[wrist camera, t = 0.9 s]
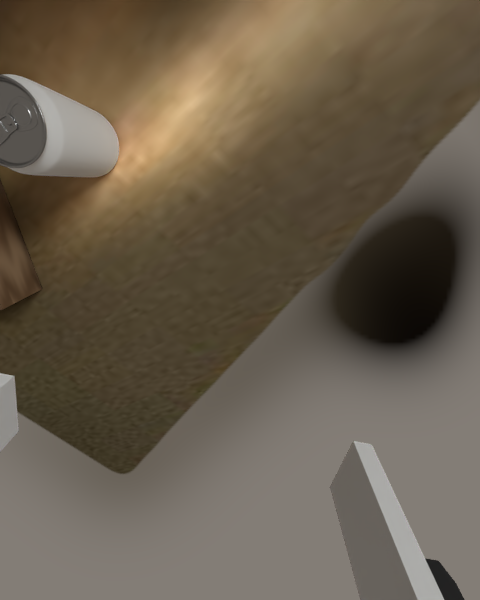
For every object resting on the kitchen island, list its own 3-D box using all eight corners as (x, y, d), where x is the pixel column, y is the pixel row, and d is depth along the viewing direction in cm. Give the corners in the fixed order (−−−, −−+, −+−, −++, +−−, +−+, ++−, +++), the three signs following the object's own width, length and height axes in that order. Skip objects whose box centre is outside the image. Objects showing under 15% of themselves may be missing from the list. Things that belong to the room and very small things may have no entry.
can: (133, 159, 32) (71, 146, 21) (84, 188, 33) (1, 191, 22) (96, 95, 30) (6, 42, 18) (46, 129, 31) (-68, 98, 20)
